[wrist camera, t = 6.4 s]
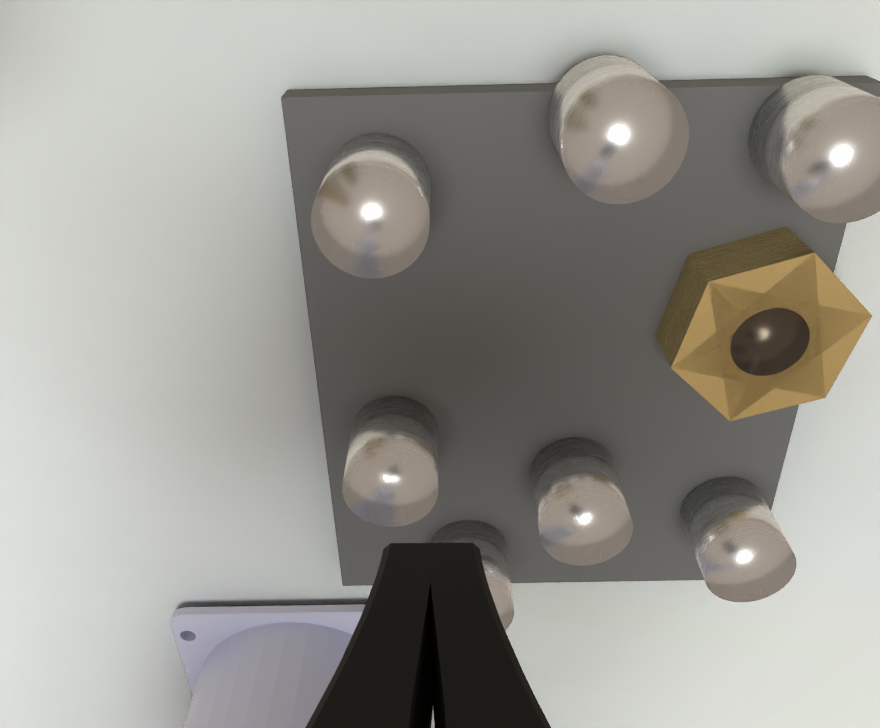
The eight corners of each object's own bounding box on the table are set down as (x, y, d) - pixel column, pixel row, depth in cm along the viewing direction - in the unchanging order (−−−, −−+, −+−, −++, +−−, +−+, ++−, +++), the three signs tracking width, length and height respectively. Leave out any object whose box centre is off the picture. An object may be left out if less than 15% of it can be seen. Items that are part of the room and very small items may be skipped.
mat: (744, 560, 25) (752, 578, 24) (345, 567, 25) (342, 585, 24) (865, 75, 17) (883, 82, 16) (287, 89, 17) (281, 97, 17)
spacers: (745, 572, 24) (774, 637, 22) (367, 578, 24) (359, 644, 22) (878, 48, 16) (945, 70, 14) (314, 62, 16) (295, 86, 14)
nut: (844, 352, 20) (875, 386, 18) (666, 397, 21) (683, 433, 19) (836, 211, 18) (870, 238, 17) (641, 267, 19) (657, 296, 17)
